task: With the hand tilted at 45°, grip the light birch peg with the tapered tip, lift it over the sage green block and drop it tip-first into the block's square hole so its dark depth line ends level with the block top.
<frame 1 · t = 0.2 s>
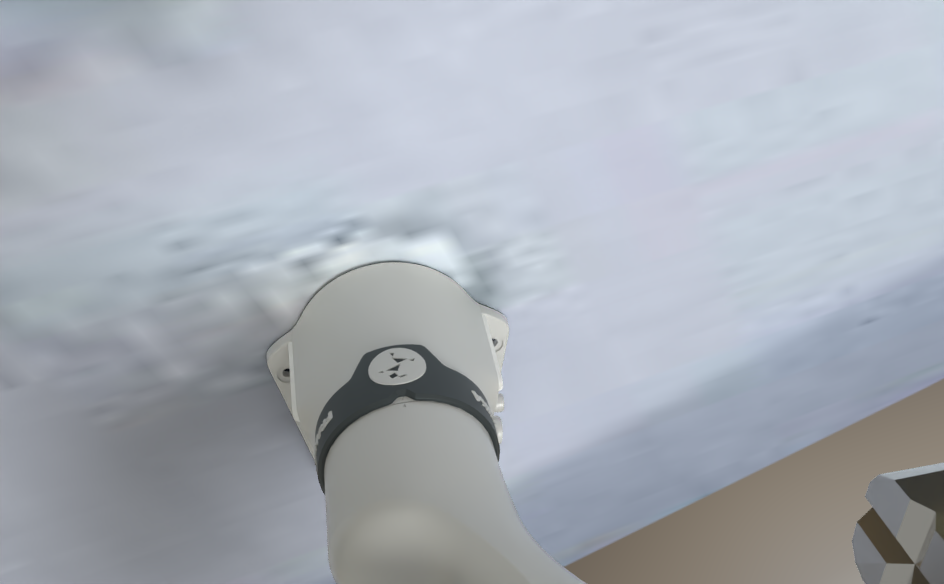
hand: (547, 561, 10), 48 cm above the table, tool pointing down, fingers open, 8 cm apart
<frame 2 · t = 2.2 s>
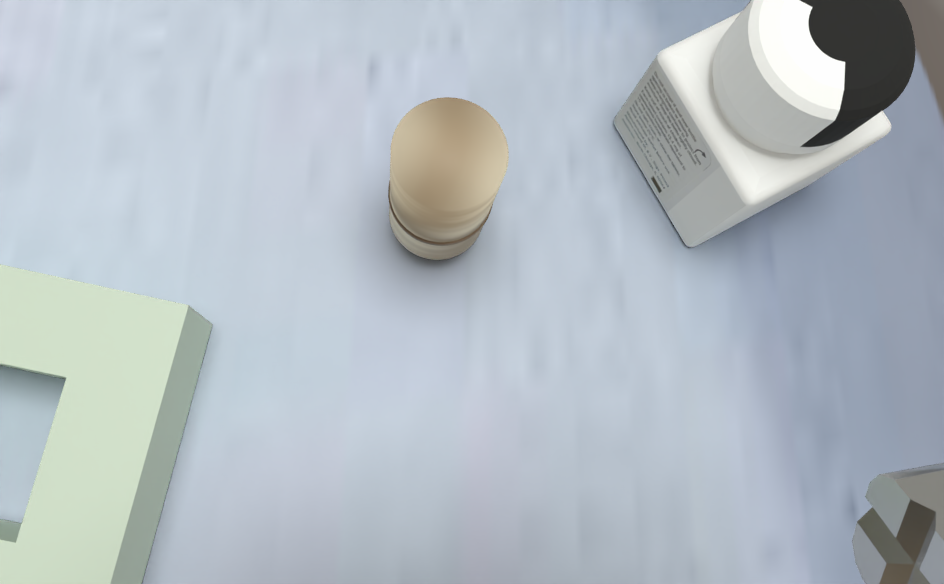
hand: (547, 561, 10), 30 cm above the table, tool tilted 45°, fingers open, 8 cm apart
container: (708, 154, 44), on the table
peg: (434, 225, 41), on the table
hole block: (13, 443, 38), on the table
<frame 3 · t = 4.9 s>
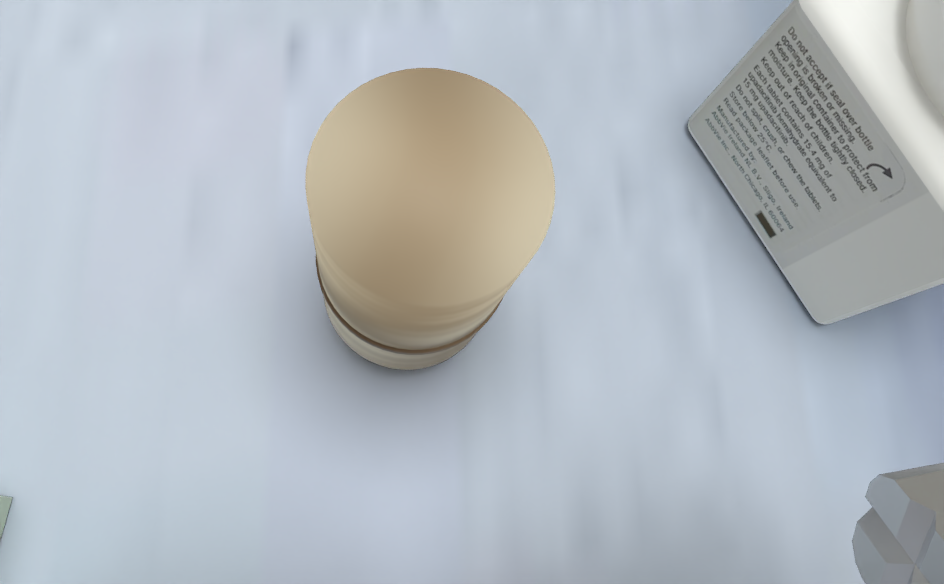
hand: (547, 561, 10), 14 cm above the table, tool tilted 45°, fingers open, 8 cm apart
container: (835, 173, 28), on the table
peg: (403, 303, 25), on the table
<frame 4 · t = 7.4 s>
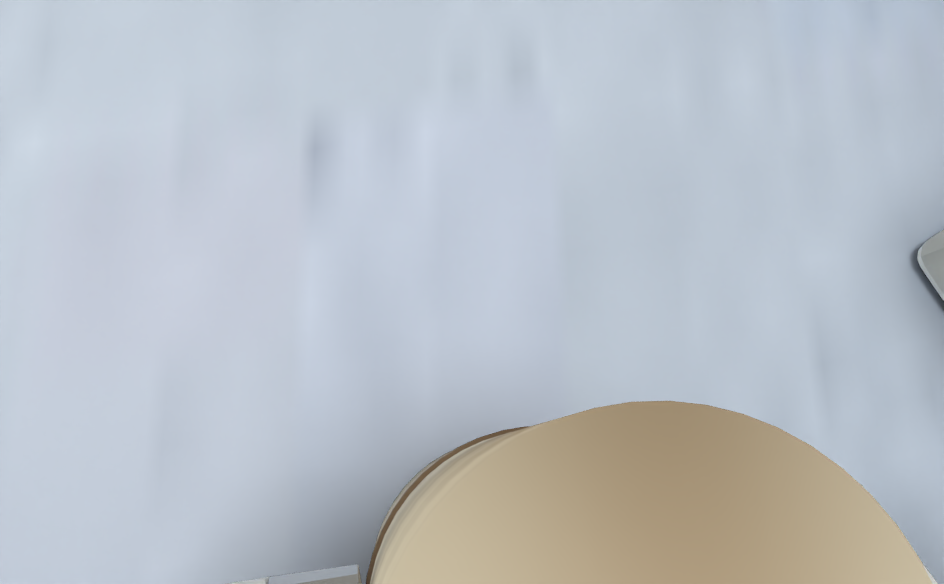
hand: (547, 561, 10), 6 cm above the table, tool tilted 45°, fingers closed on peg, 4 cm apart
peg: (491, 563, 16), on the table, touching gripper
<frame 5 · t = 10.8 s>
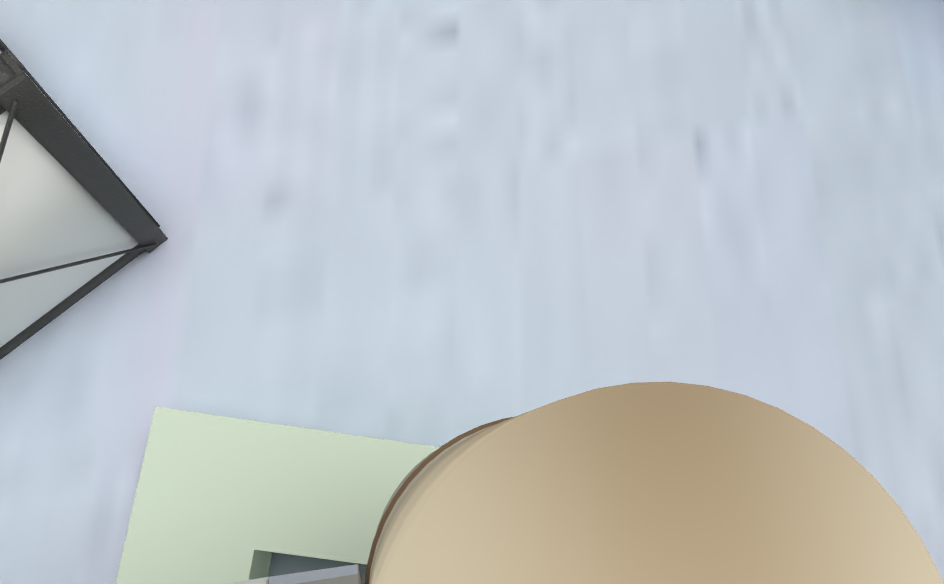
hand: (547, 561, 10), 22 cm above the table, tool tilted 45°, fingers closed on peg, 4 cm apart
peg: (492, 555, 16), point 16 cm above the table, touching gripper
when the fingers open (8 cm above the table, at t = 14.6 s): peg drops 2 cm, resting in hole block.
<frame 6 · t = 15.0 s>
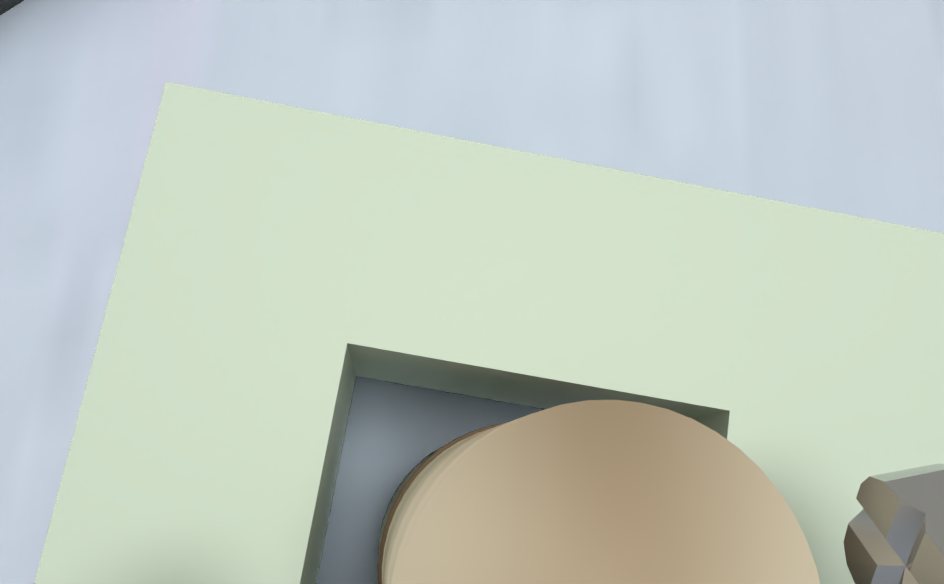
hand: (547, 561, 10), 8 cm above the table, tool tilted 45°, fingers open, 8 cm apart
peg: (480, 543, 18), resting in hole block
hole block: (476, 550, 18), on the table
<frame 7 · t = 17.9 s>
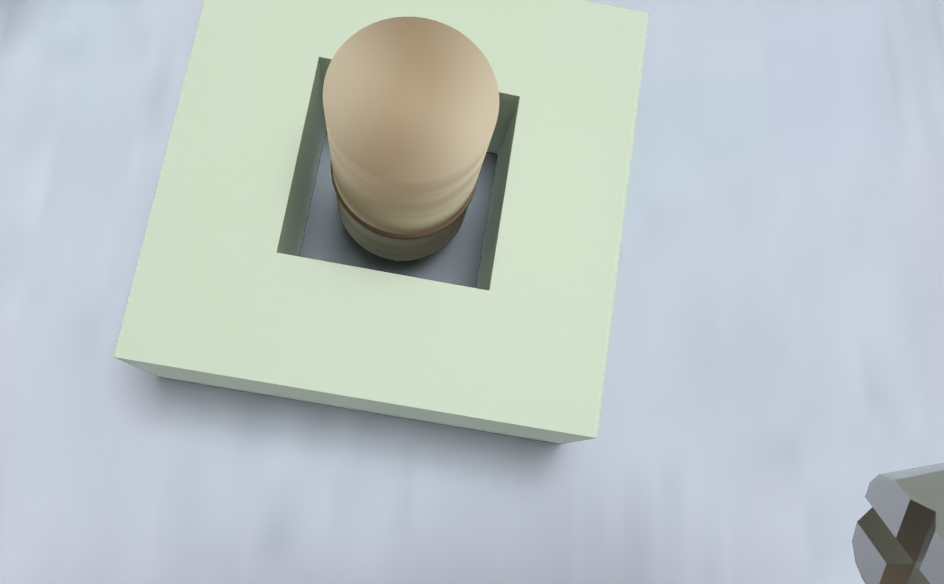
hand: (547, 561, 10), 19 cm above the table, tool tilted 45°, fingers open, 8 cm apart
peg: (400, 215, 31), resting in hole block
hole block: (398, 219, 31), on the table
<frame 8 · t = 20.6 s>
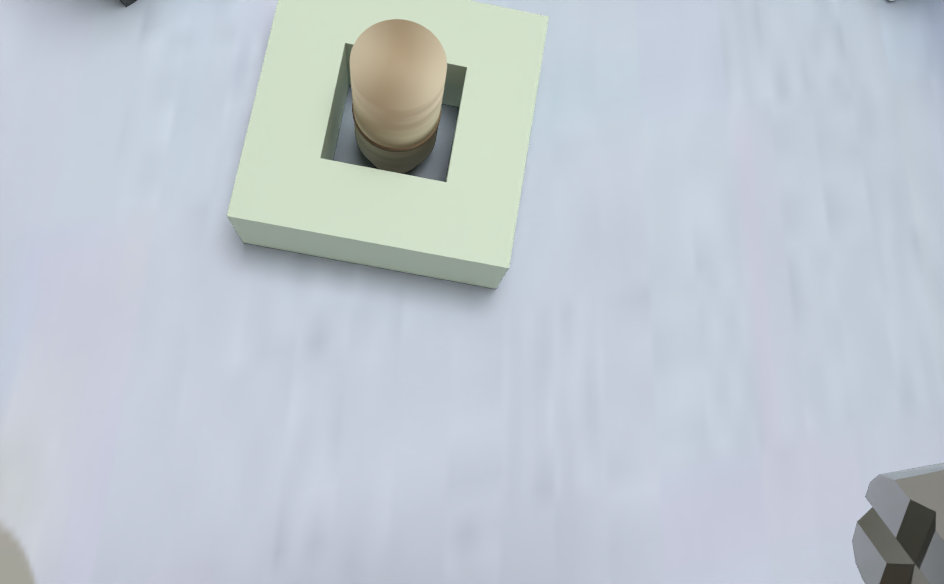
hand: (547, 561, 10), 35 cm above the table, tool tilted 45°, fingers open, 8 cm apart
peg: (395, 145, 48), resting in hole block
hole block: (394, 147, 48), on the table
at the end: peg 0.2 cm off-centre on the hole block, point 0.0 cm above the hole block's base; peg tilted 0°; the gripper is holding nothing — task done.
